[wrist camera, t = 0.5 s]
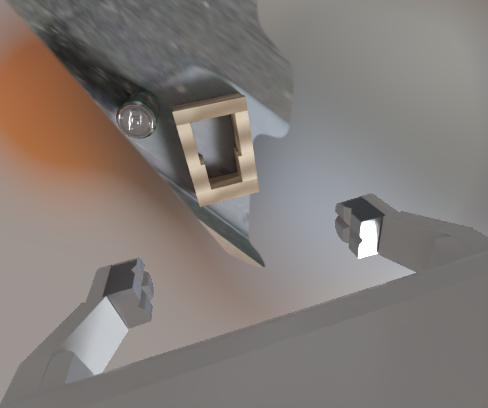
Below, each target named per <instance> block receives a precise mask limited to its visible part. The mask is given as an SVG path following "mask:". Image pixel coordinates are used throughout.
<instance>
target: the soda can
mask: <svg viewBox="0 0 488 408" xmlns="http://www.w3.org/2000/svg"><path fill="white" fill-rule="evenodd" d="M159 111H160V105H159V102H158V100H157V98H156V97H155V96H154V95H153V94H152V93H150V92H148V91H145V90H138V91H135V92H133V93H132V94H131V95H130V96H129V97H128V98H127V99H126V100H125V101H124V102H123V104H122V105H121V106H120V107H119V109H118V111H117V115H116V119H117V123H118V126H119V127H120V129H121V130H122V131H123V132H124V133H125V134H126V135H128V136H130V137H132V138H137V139H142V138H146V137H148V136H150V135H151V134H152V133H153V132H154V130H155V128H156V124H157V120H158V115H159Z"/></svg>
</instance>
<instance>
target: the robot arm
mask: <svg viewBox="0 0 488 408" xmlns="http://www.w3.org/2000/svg"><path fill="white" fill-rule="evenodd" d="M335 212H336V213H337V214H338V217H337V218H336V220H335V228H336V231H337V234H338V236H339V237H340V238H341V239H342V241H344V242H347V243H349V249H350V250H351V251H352V252H353V253H354V254H355V255H356V257H357V258H362V257H365V256H369V255H373V254H376V253H378V254H379V255H381V256H383V257H385V258H387V259H389V260H391V261H394V262H396V263H398V264H400V265H402V266H404V267H406V268H408V269H410V270H413V271H415V272H417V273H414V274H411V275H408V276H405V277H402V278H399V279H396V280H393V281H389V282H386V283H383V284H380V285H377V286H374V287H371V288H367V289H364V290H361V291H358V292H355V293H352V294H349V295H345V296H342V297H339V298H336V299H332V300H329V301H326V302H323V303H320V304H317V305H314V306H310V307H307V308H304V309H301V310H298V311H295V312H292V313H288V314H285V315H282V316H279V317H276V318H273V319H270V320H266V321H263V322H260V323H257V324H254V325H251V326H248V327H245V328H241V329H238V330H235V331H232V332H229V333H226V334H223V335H219V336H216V337H213V338H210V339H207V340H203V341H200V342H197V343H194V344H191V345H188V346H185V347H182V348H178V349H175V350H172V351H169V352H166V353H163V354H160V355H156V356H153V357H150V358H147V359H144V360H141V361H138V362H134V363H131V364H128V365H125V366H122V367H119V368H116V369H112V370H109V371H106V372H103V370H104V369H105V367H106V365H107V364H108V362H109V360H110V359H111V357H112V356H113V354H114V352H115V351H116V349H117V348H118V346H119V344H120V343H121V341H122V340H123V338H124V336H125V335H126V333H127V332H128V329H129V328H132V327H135V326H138V325H140V324H144V323H147V322H150V321H151V319H152V308H153V306H152V304H151V302H150V300H151V299H152V298H153V294H154V288H153V282H152V279H151V276H150V275H149V273H148V272H146V271H144V267H145V264H144V263H143V261H142V259H140V258H136V259H132V260H128V261H124V262H120V263H116V264H113V265H108V266H105V267H101V268H99V269H98V270H97V272H96V274H95V277H94V280H93V283H92V286H91V289H90V292H89V295H88V297H87V300H86V302H84V303H81V304H80V305H79V306H78V307H77V308H76V309H75V310H74V311H73V312H72V313H71V314H70V315H69V316H68V317H67V318H66V319H65V320H64V321H63V322H62V323H61V324H60V325H59V326H58V327H57V328H56V329H55V330H54V331H53V332H52V333H51V334H50V335H49V336H48V337H47V338H46V339H45V340H44V341H43V342H42V343H41V344H40V345H39V346H38V347H37V348H36V349H35V350H34V351H33V352H32V353H31V354H30V355H29V356H28V357H27V358H26V359H25V360H24V361H23V362H22V363H21V364H20V365H19V367H18V369H17V371H16V373H15V375H14V377H13V379H12V382H11V383H10V385H9V388H8V390H7V392H6V394H5V396H4V398H3V400H2V402H1V404H0V408H488V237H487V236H485V235H483V234H482V233H480V232H478V231H477V230H475V229H473V228H471V227H467V226H463V225H459V224H455V223H450V222H446V221H442V220H437V219H433V218H429V217H425V216H421V215H416V214H412V213H408V212H403V211H401V212H398V211H396V210H395V209H394V208H392V207H391V206H389V205H388V204H387V203H385V202H384V201H382V200H381V199H380V198H378V197H377V196H375V195H374V194H371V193H370V194H367V195H363V196H360V197H358V198H354V199H351V200H347V201H344V202H340V203H337V205H336V209H335ZM102 372H103V373H102Z"/></svg>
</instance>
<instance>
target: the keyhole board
mask: <svg viewBox="0 0 488 408" xmlns="http://www.w3.org/2000/svg"><path fill="white" fill-rule="evenodd" d="M172 113H173V116H174V120H175V123H176V126H177V130H178V133H179V137H180V140H181V144H182V147H183V150H184V154H185V157H186V161H187V164H188V168H189V171H190V174H191V178H192V181H193V185H194V188H195V191H196V195H197V198H198V202H199V205H200V207H201V206H205V205H209V204H213V203H217V202H221V201H225V200H229V199H233V198H237V197H241V196H245V195H248V194H252V193H256V192H259V186H258V180H257V173H256V166H255V159H254V152H253V145H252V138H251V131H250V124H249V117H248V110H247V103H246V97H245V96H244V95H242V94H241V93H234V94H229V95H224V96H220V97H215V98H210V99H205V100H200V101H196V102H191V103H186V104H181V105H177V106H172ZM229 114H231V119H232V125H233V131H234V136H235V142H236V147H235V148H233V150H234V156H235V161H236V167H237V172H235V173H231V174H226V175H222V176H218V177H214V178H210V179H208V175H207V171H206V167H205V164H204V160H203V156H202V155H201V156H199V155H198V152H197V148H196V144H195V140H194V136H193V133H192V129H191V125H190V123H192V122H197V121H201V120H206V119H210V118H215V117H220V116H224V115H229Z"/></svg>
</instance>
